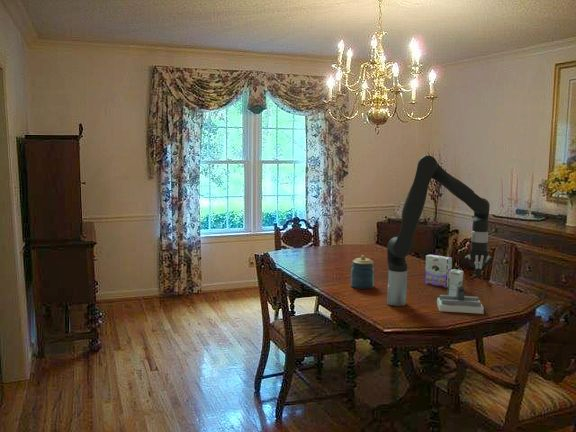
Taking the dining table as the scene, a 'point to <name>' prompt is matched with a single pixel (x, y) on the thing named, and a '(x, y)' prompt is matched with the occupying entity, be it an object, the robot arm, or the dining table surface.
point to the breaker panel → (459, 308)
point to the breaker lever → (460, 292)
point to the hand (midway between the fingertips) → (477, 275)
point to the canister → (362, 273)
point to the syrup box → (454, 281)
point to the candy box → (437, 270)
